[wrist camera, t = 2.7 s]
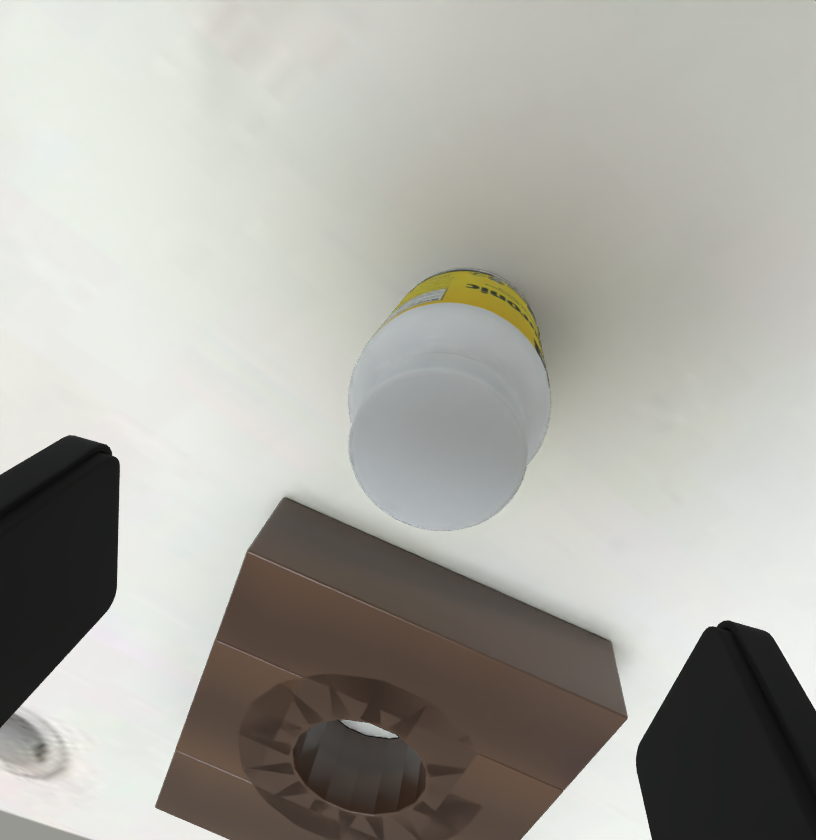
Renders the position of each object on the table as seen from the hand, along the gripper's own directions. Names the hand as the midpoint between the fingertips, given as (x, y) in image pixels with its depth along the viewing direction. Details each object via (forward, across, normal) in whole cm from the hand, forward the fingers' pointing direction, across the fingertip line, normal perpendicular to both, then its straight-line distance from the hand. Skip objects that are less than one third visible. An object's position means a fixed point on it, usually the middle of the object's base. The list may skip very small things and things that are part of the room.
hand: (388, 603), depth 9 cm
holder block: (+14, -1, +18) cm, 23 cm away
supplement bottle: (+14, 0, -1) cm, 14 cm away
